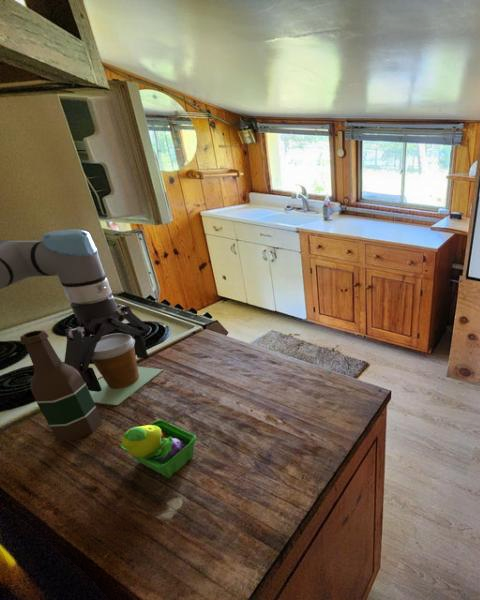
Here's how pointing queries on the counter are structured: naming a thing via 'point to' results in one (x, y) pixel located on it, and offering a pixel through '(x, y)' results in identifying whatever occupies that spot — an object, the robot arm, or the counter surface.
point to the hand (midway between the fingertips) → (121, 372)
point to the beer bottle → (60, 391)
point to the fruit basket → (160, 446)
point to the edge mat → (121, 394)
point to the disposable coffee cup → (116, 360)
